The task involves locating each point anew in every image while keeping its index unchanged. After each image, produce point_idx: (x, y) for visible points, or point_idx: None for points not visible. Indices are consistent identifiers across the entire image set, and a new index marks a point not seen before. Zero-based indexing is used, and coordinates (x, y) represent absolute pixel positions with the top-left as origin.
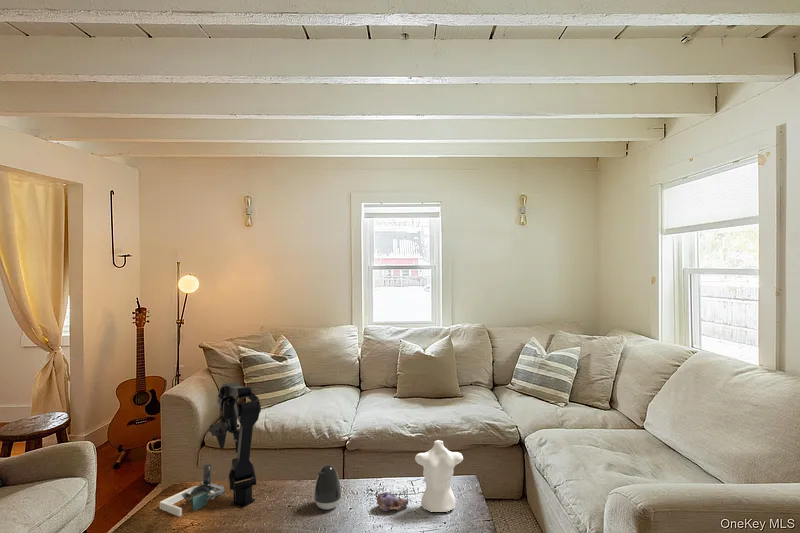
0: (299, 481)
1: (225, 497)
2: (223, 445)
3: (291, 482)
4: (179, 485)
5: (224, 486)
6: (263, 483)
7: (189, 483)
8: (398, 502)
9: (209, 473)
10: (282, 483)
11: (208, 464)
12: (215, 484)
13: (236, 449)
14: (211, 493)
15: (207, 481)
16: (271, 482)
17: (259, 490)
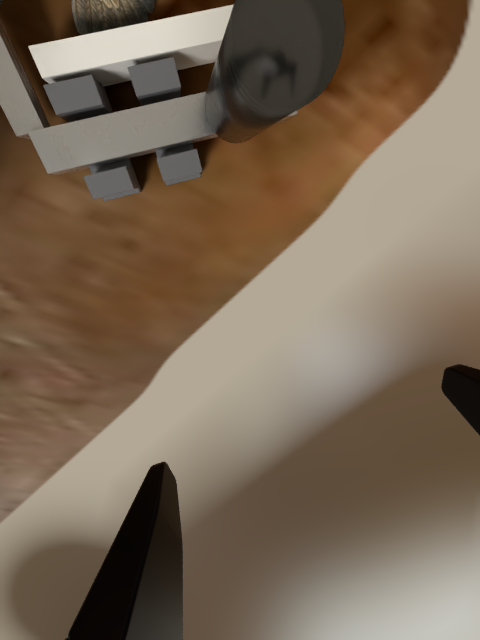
0: (3, 509)
1: (29, 166)
2: (475, 420)
3: (14, 486)
4: (452, 19)
5: (94, 196)
6: (90, 401)
7: (415, 95)
8: None
9: (217, 85)
10: (29, 458)
11: (308, 78)
12: (170, 156)
13: (129, 528)
14: (47, 47)
15: (208, 85)
16: (75, 429)
17: (9, 361)
